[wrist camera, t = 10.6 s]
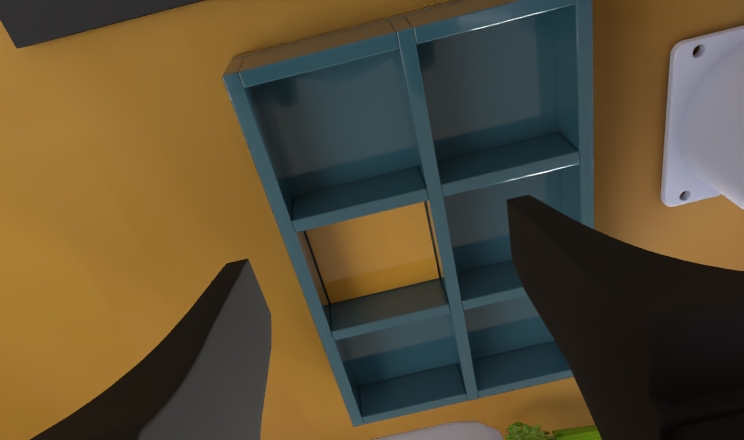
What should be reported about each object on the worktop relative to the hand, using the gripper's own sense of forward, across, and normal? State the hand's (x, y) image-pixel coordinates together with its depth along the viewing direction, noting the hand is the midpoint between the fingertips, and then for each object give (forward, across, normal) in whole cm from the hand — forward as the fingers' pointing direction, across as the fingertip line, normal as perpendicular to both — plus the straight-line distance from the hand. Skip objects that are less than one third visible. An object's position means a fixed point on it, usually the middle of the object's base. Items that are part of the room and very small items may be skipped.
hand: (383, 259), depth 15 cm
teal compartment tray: (+10, -2, +6) cm, 12 cm away
